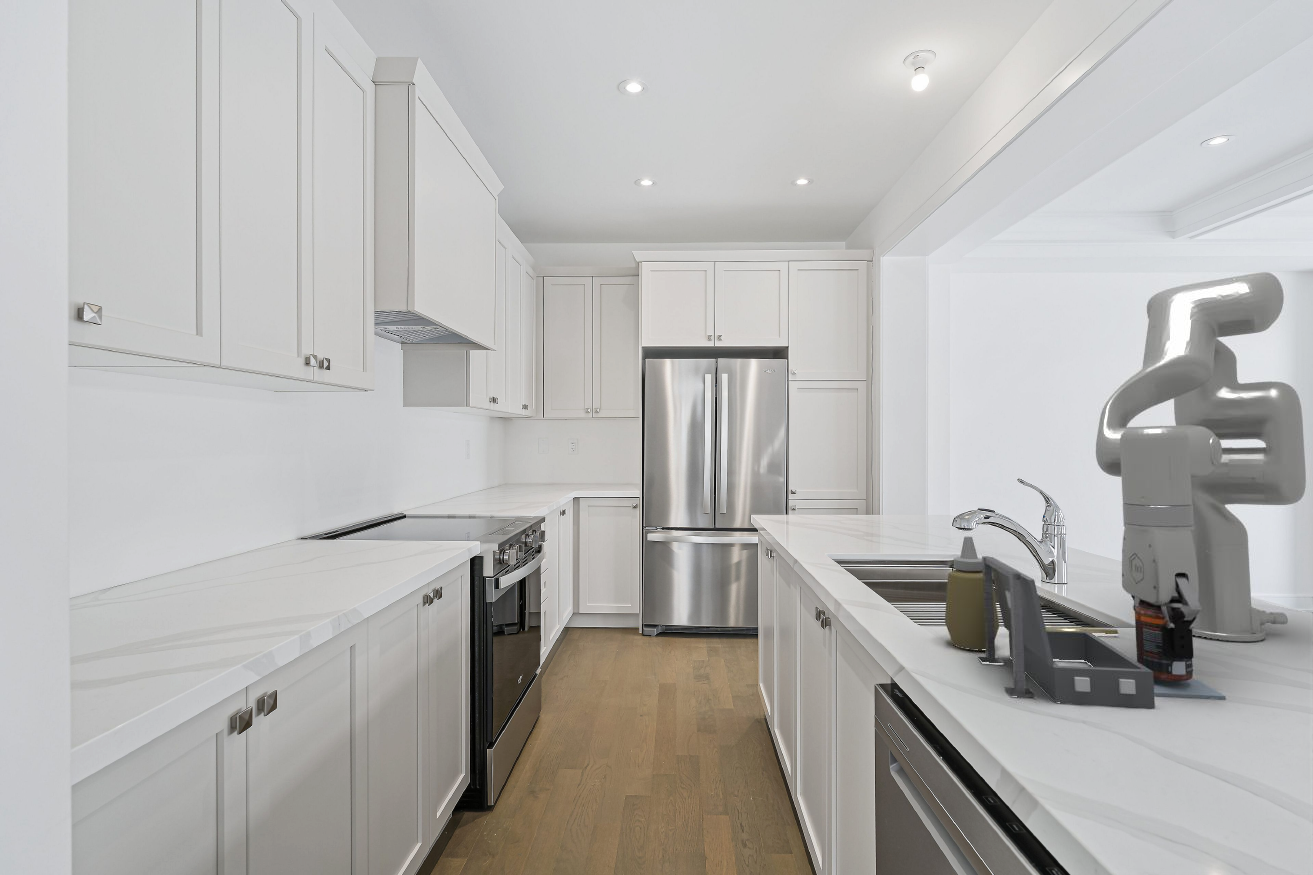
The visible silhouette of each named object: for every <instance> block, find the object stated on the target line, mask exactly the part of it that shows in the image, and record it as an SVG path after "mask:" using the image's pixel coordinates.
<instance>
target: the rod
mask: <svg viewBox="0 0 1313 875" xmlns="http://www.w3.org/2000/svg"><path fill="white" fill-rule="evenodd" d="M1045 628H1046V630H1060V631H1088V632H1090V633H1105V634H1119V631H1118V629H1115V628H1113V629H1112V628H1110V629H1109V628H1079V627H1076V628H1075V627H1055V626H1054V627H1053V626H1052V627H1050V626H1048V627H1047V626H1045Z"/></svg>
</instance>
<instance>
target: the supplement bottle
mask: <svg viewBox="0 0 1313 875" xmlns="http://www.w3.org/2000/svg"><path fill="white" fill-rule="evenodd" d="M1179 601H1180V600H1179V599H1170V601H1169V602H1168V603H1180V602H1179ZM1177 610H1181V609H1171V612H1172V616H1173V615H1174V614H1175V612H1176V611H1177ZM1134 622H1135V623H1134V624H1135V626H1134V627H1135V642H1136V644H1135V647H1136V661H1137V662H1138V663H1140V664H1141V665H1143V666H1145V667H1146V668H1148V669H1149V670H1151V671H1153V677H1154V678H1157V679H1161V680H1167V681H1176V682H1181V681H1188V680H1190V679H1192V677H1193V676H1194V675H1193V674H1194V664H1193V658H1192V659H1174V658H1167V657H1165V656H1164V655H1163V643H1162V626H1166V625H1165V622H1164V617H1163V613H1162V609H1161V605H1153V604H1151V603H1148V602H1146V601H1145V602H1144V603H1143V604H1141V605H1139V606H1137V607H1136V609H1135V612H1134ZM1193 678H1194V677H1193Z"/></svg>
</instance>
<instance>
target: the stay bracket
mask: <svg viewBox="0 0 1313 875" xmlns="http://www.w3.org/2000/svg"><path fill="white" fill-rule="evenodd" d="M991 557H992V556H987V555H986V556H983V555H981V559H982V570H983V596H984V621H985V646H986V650H985V656H977V659H978V658H979V659H980V660H981V661H982V662H989V663H1004V664H1005V662H1004V661H1003V660H1002V659H1001V658H1000V657H997V656H996V644H995V642H996V638H995V637H994V612H993V588H994V586H993V587H992V581H993V575H992V567H993V568H995V569H996V570H998V571H1000V572H1001V573H1003V574H1005V575H1006V576H1008V577H1010V601H1011V626H1012V650H1013V661H1012V670H1013V671H1012V673H1013V687H1011V686H1010V687H1009V686H1007V687H1004V692H1005V693H1006V694H1007V693H1008V694H1009V695H1010V696H1017V697H1016V698H1021V697H1036V694H1035V693H1034V692H1033V691H1032V690H1031V689H1030V688H1027V687H1026V676H1025V675H1026V673H1025V669H1024V645H1023V621H1022V597H1021V574H1020V573H1018V572H1016V571H1014V570H1012V569H1010V568H1008V567H1007V566H1005V565H1003V564H1001V563H999V562H998V561H996V560H994V559H992V558H991ZM1008 694H1007V695H1008ZM1009 695H1008V696H1009ZM1010 696H1009V697H1010Z"/></svg>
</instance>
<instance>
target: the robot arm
mask: <svg viewBox="0 0 1313 875" xmlns="http://www.w3.org/2000/svg"><path fill="white" fill-rule="evenodd" d="M1284 298H1285V296H1284V289H1283V286H1282V284H1281V282H1280V280H1279V278H1277V276H1275V275H1274V274H1273V273H1271V272H1266V271H1263V272H1256V273H1249V274H1244V275H1238V276H1233V277H1226V278H1220V279H1215V280H1208V281H1201V282H1195V283H1191V284H1185V285H1181V286H1175V287H1172V288H1168V289H1165V290H1162V291H1159V292H1157V293H1155V294H1153V295H1152V296H1151V297H1150V298H1149V299H1148V301H1147V305H1146V313H1147V319H1148V323H1147V324H1148V325H1147V331H1146V337H1145V338H1146V339H1145V346H1144V354H1143V360H1142V367H1141V369H1140V370H1139V371H1138V372H1137V373H1135V374H1134V375H1132V376H1130V377H1129V378H1128V379H1127V380H1126V381H1124V382H1123V384H1122V385H1120V387H1118V388H1117V389H1116V390H1115V391H1114V392H1113V394H1112V395H1111V396H1110V397H1109V398H1108V400H1107V401H1106V403H1105V404H1104V406H1103V408H1102V410H1101V413H1100V417H1099V422H1098V430H1097V434H1096V441H1095V458H1096V462H1097V465H1098V467H1099V468H1100V470H1101V471H1102V472H1104V473H1106V474H1107V475H1109V476H1112V477H1119V478H1121V494H1122V495H1121V496H1122V517H1123V518H1122V520H1123V528H1124V529H1123V535H1122V545H1121V546H1122V547H1121V587H1122V589H1123V590H1124V591H1125V592H1126V594H1128V595H1130V596H1131V598H1132V600H1133V604H1132V605H1133V606H1132V608H1133V612H1134V613H1135V609H1136V607H1137V606H1139V605H1141V604H1143V603H1144V602H1145V601H1146V602H1148V603H1151V604H1153V605H1161V609H1162V613H1163V617H1164V622H1165V625H1166V626H1162V643H1163V655H1164V656H1165V657H1167V658H1174V659H1192V660H1193V659H1194V638H1193V635H1195V636H1194V637H1198V636H1202V637H1201V638H1204V637H1207V638H1206V639H1210V638H1212V640H1217V639H1219V641H1227V640H1228V641H1229V642H1258V641H1262V640H1265V638H1266V636H1267V634H1266V630H1265V629H1264V628H1262V627H1263V626H1265V625H1266V624H1272V625H1287V624H1288V622H1289V619H1288V615H1287V614H1286V613H1284V612H1276V611H1273V612H1272V611H1271V612H1266V611H1265V610H1260V609H1259V608H1256V607H1253V606H1252V593H1251V572H1250V554H1249V551H1250V549H1249V535H1248V531H1247V528H1246V527H1245V525H1244V523H1243V522H1242V521H1241V520H1240V519H1239V518H1238V517H1237V516H1236V515H1235V514H1233V512H1231V511H1230V510H1229V509H1228V508H1227V507H1226V505H1253V506H1254V505H1256V506H1260V505H1261V506H1289V505H1294V504H1296V503H1299V501H1301V500H1302V498H1303V497H1304V495H1305V492H1306V486H1307V485H1306V484H1307V480H1306V478H1307V475H1306V471H1307V470H1306V460H1305V459H1306V458H1305V438H1304V423H1303V422H1304V421H1303V411H1302V404H1301V400H1300V397H1299V395H1298V393H1297V391H1296V390H1295V389H1296V388H1294V387H1293V386H1292V385H1290V384H1288V383H1286V382H1283V381H1258V382H1245V383H1241V382H1239V381H1238V369H1237V367H1238V366H1237V365H1238V363H1237V362H1238V361H1237V356H1236V354H1235V352H1234V351H1233V350H1232V349H1231V348H1229V346H1227V344H1225V342H1223V341H1221V340H1220V339H1219V338H1224V337H1225V338H1226V337H1234V336H1241V335H1242V336H1243V335H1251V334H1259V333H1262V332H1265V331H1267V330H1268V329H1269V328H1270V327H1272V325H1273V324H1274V323H1275V322H1276V321H1277V320H1278V318H1279V316H1280V315H1281V313H1282V310H1283V307H1284V306H1283V305H1284ZM1171 400H1173V410H1174V411H1173V412H1174V414H1173V415H1174V422H1175V425H1150V426H1129V423H1130V422H1131V421H1132V420H1134V418H1135V417H1137V416H1139V415H1140V414H1141V413H1143V412H1145V411H1147V410H1148V409H1151V408H1153V407H1155V406H1157V405H1161V404H1163V403H1165V402H1168V401H1171ZM1232 440H1234V441H1237V440H1240V441H1241V440H1258V441H1261V442H1263V443H1264V444H1265V446H1264V447H1263V446H1261V447H1258V446H1254V447H1252V446H1250V447H1222V443H1221V441H1232ZM1170 599H1179V600H1180V601H1179V602H1180V603H1168V602H1169V601H1170ZM1171 609H1181V610H1177V611H1176V612H1175V614H1174V615H1173V616H1172V612H1171Z"/></svg>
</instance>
